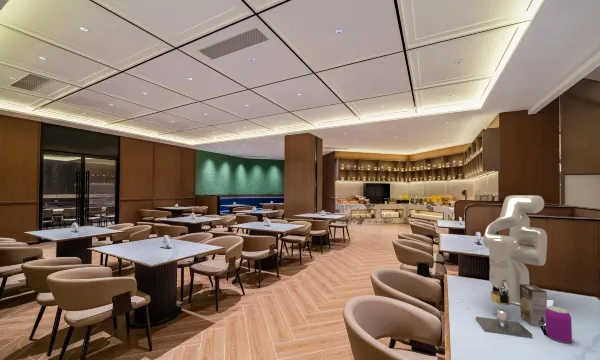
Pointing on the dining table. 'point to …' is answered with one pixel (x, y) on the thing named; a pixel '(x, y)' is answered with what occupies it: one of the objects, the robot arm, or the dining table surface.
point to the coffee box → (533, 304)
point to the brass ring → (498, 297)
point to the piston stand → (503, 325)
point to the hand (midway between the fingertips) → (500, 299)
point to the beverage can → (558, 324)
